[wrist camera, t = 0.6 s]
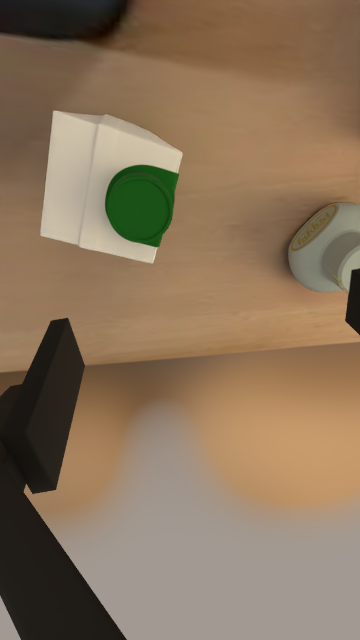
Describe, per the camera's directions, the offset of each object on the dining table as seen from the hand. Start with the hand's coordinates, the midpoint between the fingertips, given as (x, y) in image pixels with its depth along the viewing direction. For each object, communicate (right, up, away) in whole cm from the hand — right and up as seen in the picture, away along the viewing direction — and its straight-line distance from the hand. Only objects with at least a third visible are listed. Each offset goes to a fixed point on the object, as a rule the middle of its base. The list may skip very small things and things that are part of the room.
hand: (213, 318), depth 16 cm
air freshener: (+17, +10, +28) cm, 34 cm away
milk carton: (-8, +17, +22) cm, 29 cm away
